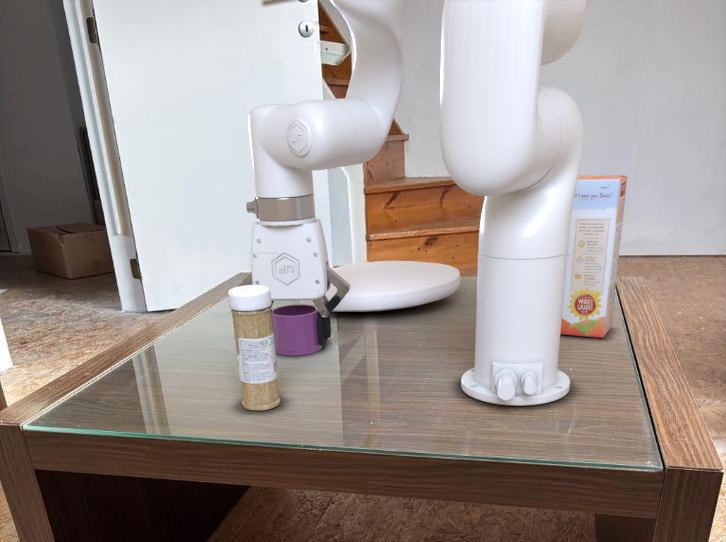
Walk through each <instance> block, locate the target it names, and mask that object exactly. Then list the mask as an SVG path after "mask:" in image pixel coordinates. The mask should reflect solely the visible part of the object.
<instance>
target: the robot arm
mask: <svg viewBox="0 0 726 542" xmlns="http://www.w3.org/2000/svg"><path fill="white" fill-rule="evenodd" d="M404 1H405V0H329V2H330V3H331V4H332V6H333V7H334V8H335V9H336V10H337V11H339V13H340V14H341V16H342V18H343V19H344V20H345V22H346V24H347V26H348V28H349V31H350V33H351V38H352V41H353V50H354V51H353V52H354V53H353V54H354V55H353V65H352V70H351V71H352V72H351V76H350V80H349V84H348V88H347V90H346V95H345V98H344V97H343V98H325V99H310V100H304V101H300V102H296V103H275V104H263V105H257V106H254V107H253V108H251V110H250V111H249V113H248V117H247V118H248V120H247V121H248V122H247V123H248V124H247V125H248V133H249V143H250V152H251V153H250V154H251V162H252V172H253V180H254V181H253V183H254V191H255V197H254V200H252V201H246V206H245V207H246V212H247V213H248V214H249V213H250V214H251V213H252V214H254V215H255V216H256V219H257V221H256V222H253V223H252V225H251V237H250V266H251V269H250V270H251V271H250V273H249V274H248V275H247V276H245V278H244V279H243V280H242V281H241V282H240V283H239V284H238V285H237V286H236V287H239V286H245V285H263V286H267V287H268V288H269V289H270V293H271V301H272V304H271V309H272V307H273V305H274V303H275V302H276V301H279V302H282V301H285V302H287V301H289V302H291V301H293V302H294V301H296V302H297V301H298V302H300V300H312V301H313V302H314V304H315V306H316V308H317V309H318V311H319V317H318V318H317V328H318V342H319V345H320V346H322V347H324V346H325V345H326V344H327V343H328V341H329V339H331V337H332V325H331V324H332V323H331V314H332V312H334V311H333V310H334V309H335V308H336V306H337V305H338V304H339V303H340V302H341V300H342V299H343V298H344V297H345V295H346V294H347V293H348V292H349V290H350V289H351V285H350V284H349V283H348V282H347V281H345V280H344V279H343V278H342V277H341V276H339V275H338V274H337V273H336V272H335V271H333V270H332V268H331V266H330V262H329V255H328V248H327V244H326V238H325V233H324V229H323V225H322V222H321V219H319V218H316V205H315V193H314V179H313V177H314V175H313V171H324V170H329V169H330V170H332V169H337V168H343V167H350V166H357V165H361V164H365V163H367V162H369V161H371V160H372V159H374V158H375V157H376V156H377V155H378V153H379V152H380V151H381V149H382V148H383V145H384V144H385V142H386V140H387V138H388V135H389V132H390V130H391V128H392V124H393V121H394V117H395V116H396V112H397V108H398V105H399V102H400V100H401V99H400V98H401V94H402V91H403V90H402V89H403V85H404V76H405V75H404V74H405V71H404V70H405V63H404V59H405V58H404V40H403V33H402V27H401V14H402V13H401V12H402V8H403V5H404ZM587 4H588V0H444V2H443V8H442V15H441V31H440V32H441V33H440V35H441V37H440V76H439V77H440V79H439V81H440V82H439V83H440V85H439V143H440V144H439V145H440V153H441V158H442V161H443V164H444V167H445V169H446V172H447V173H448V175H449V177H450V178H451V180H452V181H453V182H454V183H455V184H456V186H457V187H459V188H460V189H461V190H463V191H464V192H466V193H469V194H471V195H473V196H476V197H477V196H478V197H484V199H483V204H482V208H481V209H482V210H481V215H480V221H479V230H478V248H477V249H478V250H477V275H476V276H477V278H476V279H477V280H476V304H475V305H476V307H475V309H476V310H475V311H476V312H475V342H474V367H472V368H469V369H467V370H466V371H465V372H464V373H463V374H462V376H461V377H460V388H461V390H462V391H463V392H464V393H465V394H466V395H468V396H469V397H471V398H473V399H475V400H478V401H480V402H484V403H489V404H493V405H501V406H513V407H517V406H518V407H520V406H521V407H522V406H523V407H524V406H537V405H543V404H548V403H552V402H555V401H558V400H560V399H562V398H563V397H565V396H567V394H568V393H569V392H570V389H571V378H570V377H569V376H568V375H567V374H566V373H565V372H563V371H561V370H560V369H559V368H558V367H559V357H560V356H559V355H560V354H559V353H560V344H561V343H560V342H561V334H560V333H561V321H562V310H563V298H564V286H565V275H566V263H567V252H568V246H569V235H570V224H571V216H572V208H573V201H574V195H575V190H576V185H577V181H578V176H580V171H581V166H582V161H583V156H584V149H585V126H584V125H585V124H584V119H583V116H582V113H581V111H580V109H579V106H578V104H577V103H576V101H574V99H573V98H572V97H571V96H570V94H568V93H567V92H566V91H564V90H563V89H562V88H559V87H557V86H556V85H553V84H549V83H544V82H540V79H541V67H542V66H546V65H550V64H553V63H555V62H557V61H559V60H560V59H562V58H563V57H564V56H566V55H567V54H568V53H570V51H571V50H572V48H573V47H574V46H575V44H576V43H577V42H578V39H579V37H580V35H581V32H582V30H583V27H584V22H585V18H586V13H587ZM330 283H332V284H333V285H334V286H335V287H336V288H337V292H336V294H335V295H334V296H333V297H332V298H331V300H330V301H329V300H328V298H327V297H326V295H325V294H326V291H328V290H329V289H330Z"/></svg>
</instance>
